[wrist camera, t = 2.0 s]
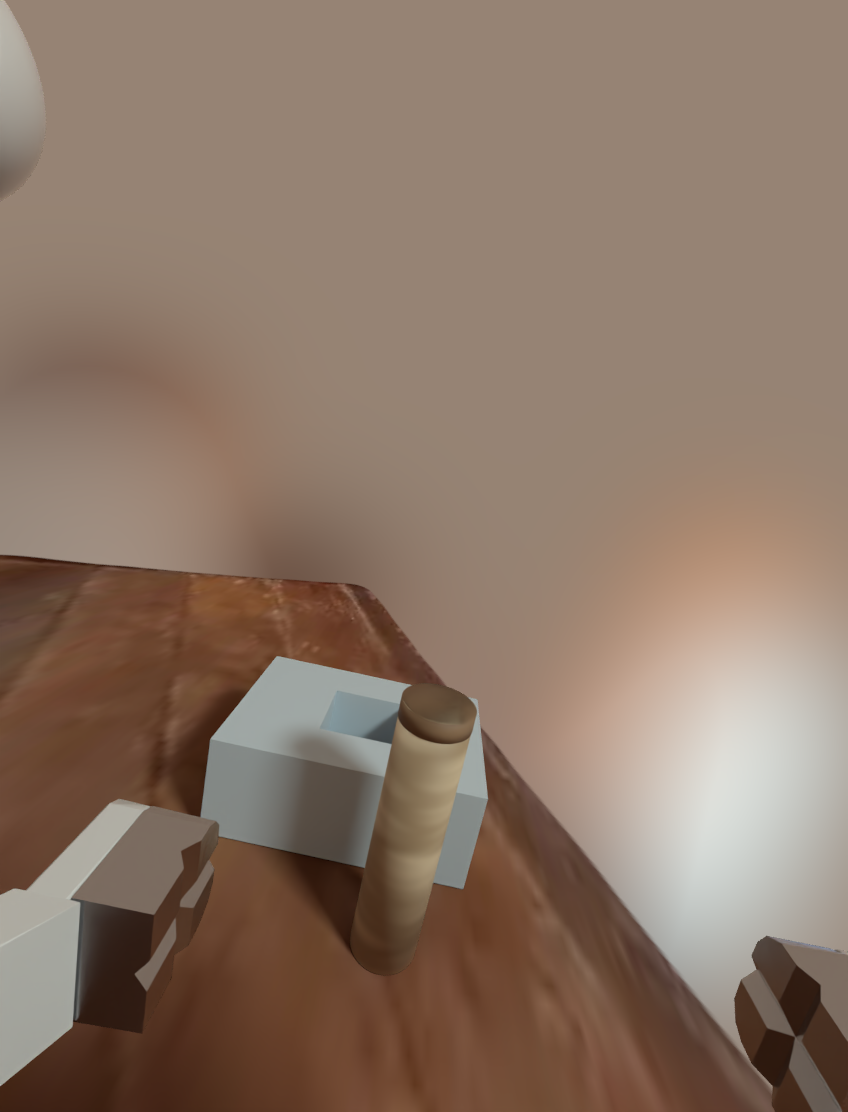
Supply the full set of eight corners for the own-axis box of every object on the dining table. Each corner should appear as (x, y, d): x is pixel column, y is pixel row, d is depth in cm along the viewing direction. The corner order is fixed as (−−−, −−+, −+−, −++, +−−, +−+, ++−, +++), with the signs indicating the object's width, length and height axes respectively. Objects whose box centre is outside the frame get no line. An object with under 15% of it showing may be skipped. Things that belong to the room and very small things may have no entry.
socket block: (198, 831, 27) (210, 739, 25) (266, 726, 36) (276, 656, 35) (463, 889, 27) (487, 799, 25) (459, 768, 36) (477, 699, 35)
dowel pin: (336, 951, 22) (388, 704, 19) (369, 898, 25) (419, 675, 22) (398, 990, 21) (463, 735, 18) (426, 930, 24) (486, 701, 21)
